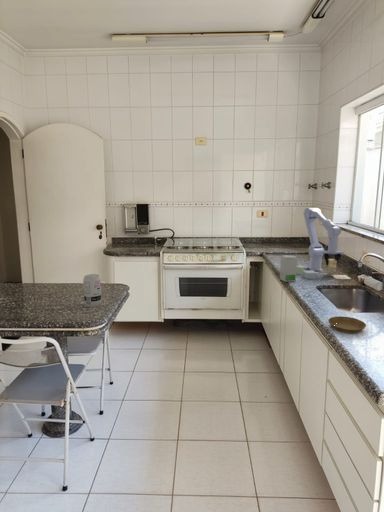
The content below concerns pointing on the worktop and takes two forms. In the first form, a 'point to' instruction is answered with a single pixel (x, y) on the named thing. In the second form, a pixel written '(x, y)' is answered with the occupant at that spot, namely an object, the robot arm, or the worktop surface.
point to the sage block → (300, 270)
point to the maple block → (332, 263)
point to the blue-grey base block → (310, 274)
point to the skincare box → (288, 268)
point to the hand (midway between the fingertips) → (331, 264)
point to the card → (341, 277)
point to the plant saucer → (347, 324)
